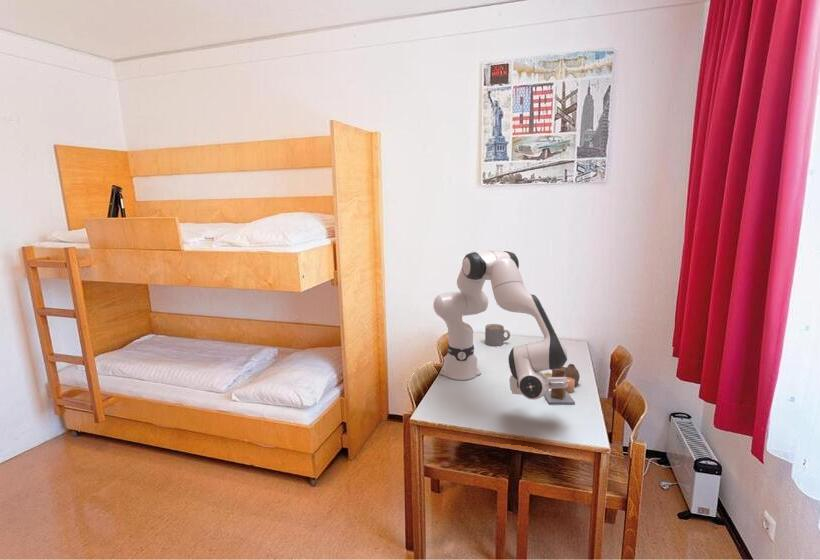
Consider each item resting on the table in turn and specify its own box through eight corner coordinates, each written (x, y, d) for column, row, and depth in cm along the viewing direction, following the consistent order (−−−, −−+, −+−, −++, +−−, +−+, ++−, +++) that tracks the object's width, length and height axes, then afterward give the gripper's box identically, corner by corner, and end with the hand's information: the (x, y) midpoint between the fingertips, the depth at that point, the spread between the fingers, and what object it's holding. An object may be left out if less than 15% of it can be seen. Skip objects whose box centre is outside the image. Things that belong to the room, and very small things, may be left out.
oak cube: (540, 382, 189) (541, 373, 188) (548, 380, 190) (548, 372, 189) (546, 385, 185) (546, 377, 184) (554, 384, 186) (554, 375, 186)
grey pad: (542, 393, 178) (542, 391, 178) (566, 393, 178) (566, 391, 177) (549, 404, 168) (549, 402, 168) (574, 404, 168) (575, 402, 168)
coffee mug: (483, 345, 237) (483, 328, 235) (487, 340, 246) (487, 323, 244) (508, 348, 232) (508, 330, 230) (510, 342, 241) (511, 325, 239)
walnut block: (550, 397, 172) (552, 369, 170) (553, 393, 176) (555, 365, 173) (562, 400, 170) (564, 371, 167) (565, 395, 173) (566, 367, 171)
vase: (578, 381, 189) (579, 362, 187) (579, 388, 182) (581, 368, 181) (561, 380, 191) (562, 361, 189) (562, 386, 184) (563, 367, 182)
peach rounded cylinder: (559, 388, 182) (560, 377, 181) (570, 387, 183) (571, 376, 182) (564, 393, 177) (565, 381, 177) (576, 392, 178) (577, 381, 177)
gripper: (566, 373, 146) (567, 372, 159) (506, 375, 153) (512, 374, 166) (568, 392, 145) (570, 389, 157) (507, 394, 152) (513, 391, 165)
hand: (539, 382), depth 162 cm, fingers open, 8 cm apart
